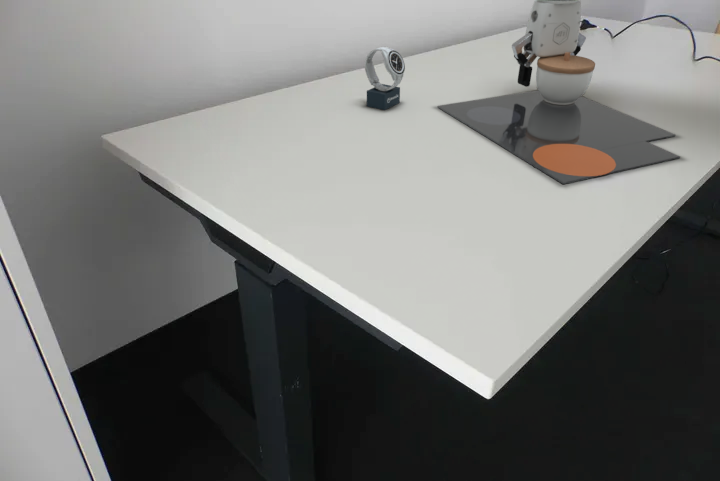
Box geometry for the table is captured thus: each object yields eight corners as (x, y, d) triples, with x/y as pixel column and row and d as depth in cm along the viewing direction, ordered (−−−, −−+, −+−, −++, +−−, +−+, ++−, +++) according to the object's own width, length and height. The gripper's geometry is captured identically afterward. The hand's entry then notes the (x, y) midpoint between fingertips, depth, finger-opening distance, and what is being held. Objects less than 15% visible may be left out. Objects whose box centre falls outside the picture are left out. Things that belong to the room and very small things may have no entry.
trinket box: (553, 88, 115) (561, 43, 110) (597, 101, 108) (609, 53, 103) (520, 98, 110) (527, 51, 105) (564, 112, 103) (575, 62, 98)
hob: (559, 88, 117) (559, 87, 116) (711, 151, 88) (711, 149, 88) (437, 107, 107) (437, 105, 107) (563, 184, 78) (563, 182, 78)
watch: (393, 112, 105) (394, 54, 99) (359, 104, 109) (358, 48, 103) (408, 104, 109) (410, 48, 103) (375, 97, 113) (375, 42, 107)
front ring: (577, 139, 92) (577, 139, 92) (634, 167, 82) (634, 167, 82) (516, 151, 88) (516, 150, 88) (568, 182, 78) (568, 182, 78)
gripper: (533, -2, 97) (519, 92, 107) (608, -8, 103) (588, 82, 112) (508, -7, 103) (497, 82, 112) (580, -13, 109) (563, 72, 118)
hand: (542, 82), depth 112 cm, fingers open, 9 cm apart
